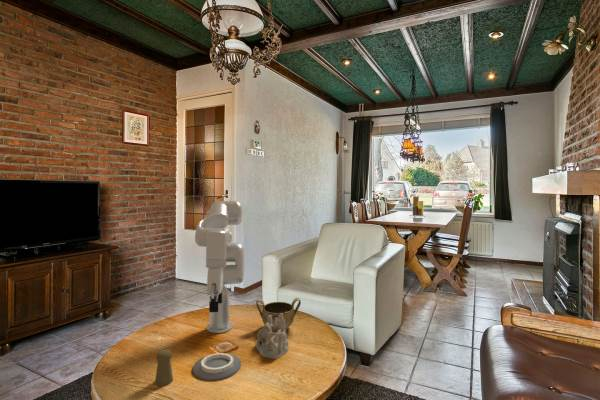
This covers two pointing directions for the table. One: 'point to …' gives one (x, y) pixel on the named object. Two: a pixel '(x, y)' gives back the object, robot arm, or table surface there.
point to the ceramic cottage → (273, 338)
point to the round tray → (216, 366)
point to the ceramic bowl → (278, 311)
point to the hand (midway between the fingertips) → (215, 307)
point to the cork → (163, 368)
